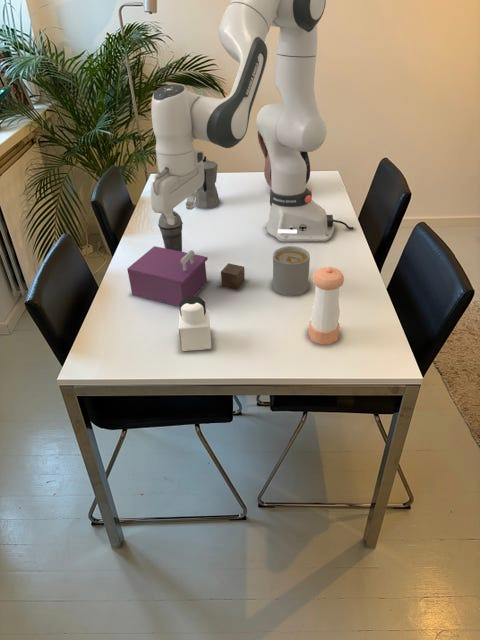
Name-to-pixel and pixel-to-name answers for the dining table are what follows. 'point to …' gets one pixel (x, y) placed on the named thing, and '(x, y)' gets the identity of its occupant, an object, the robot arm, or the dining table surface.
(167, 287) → the box
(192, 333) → the bust figurine
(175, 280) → the box file lid
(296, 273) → the coffee mug
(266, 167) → the ceramic pitcher
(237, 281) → the block
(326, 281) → the salt shaker
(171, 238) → the beverage cup
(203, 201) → the coffeepot
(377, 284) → the dining table surface
